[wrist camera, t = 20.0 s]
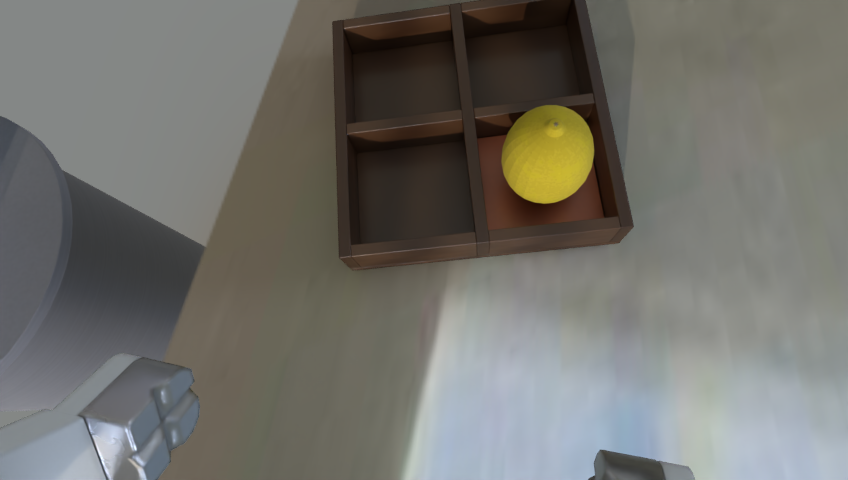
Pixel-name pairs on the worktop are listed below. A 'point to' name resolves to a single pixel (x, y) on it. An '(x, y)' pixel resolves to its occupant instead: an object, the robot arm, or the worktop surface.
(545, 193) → the lemon
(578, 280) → the worktop surface
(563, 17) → the grid
